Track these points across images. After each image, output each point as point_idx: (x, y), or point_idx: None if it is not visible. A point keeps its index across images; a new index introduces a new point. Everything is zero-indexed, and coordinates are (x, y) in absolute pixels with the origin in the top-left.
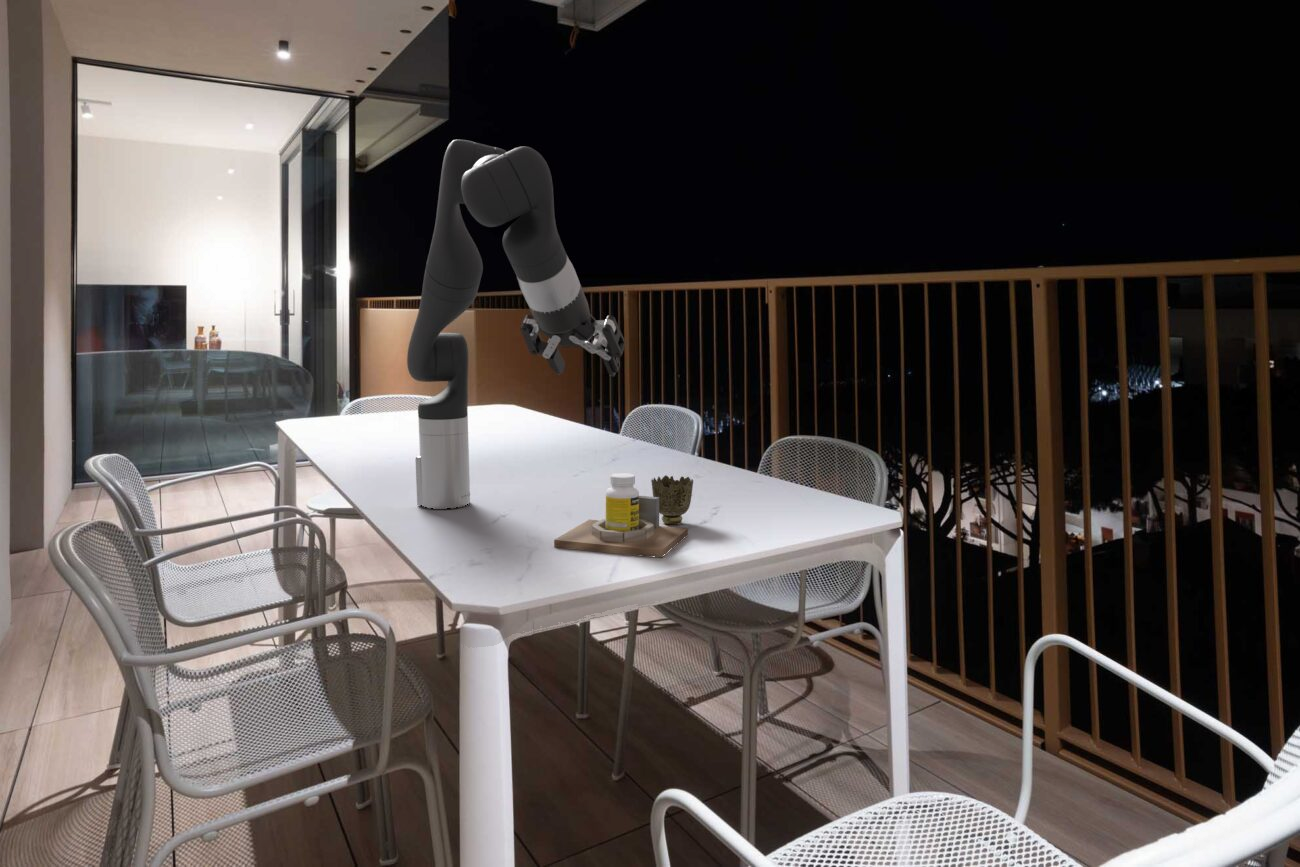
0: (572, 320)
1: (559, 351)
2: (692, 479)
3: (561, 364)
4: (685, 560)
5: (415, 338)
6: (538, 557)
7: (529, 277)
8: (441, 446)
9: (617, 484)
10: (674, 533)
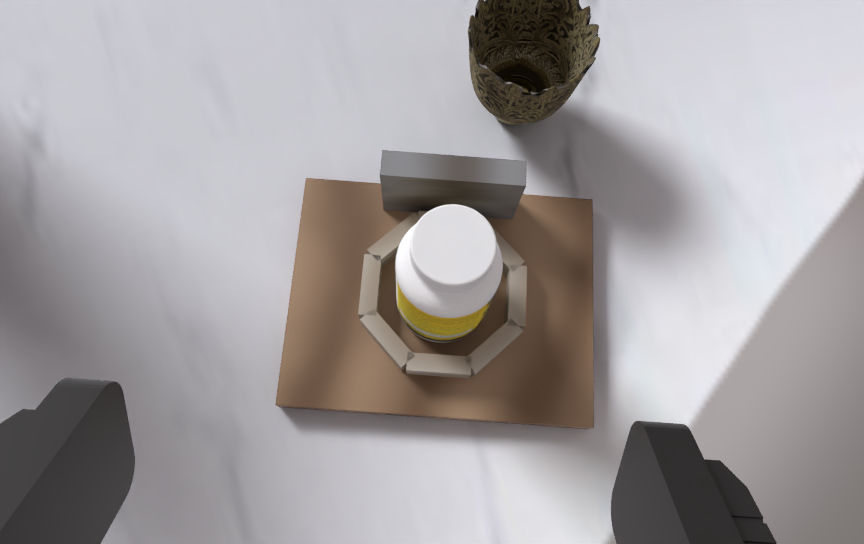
0: None
1: (5, 524)
2: (589, 9)
3: (95, 465)
4: None
5: None
6: (268, 513)
7: None
8: None
9: (446, 291)
10: (574, 257)
